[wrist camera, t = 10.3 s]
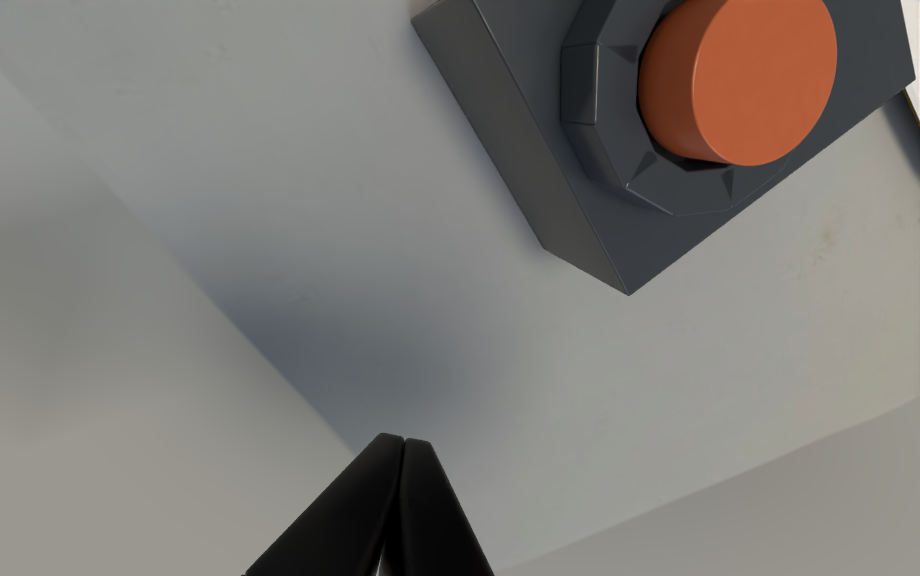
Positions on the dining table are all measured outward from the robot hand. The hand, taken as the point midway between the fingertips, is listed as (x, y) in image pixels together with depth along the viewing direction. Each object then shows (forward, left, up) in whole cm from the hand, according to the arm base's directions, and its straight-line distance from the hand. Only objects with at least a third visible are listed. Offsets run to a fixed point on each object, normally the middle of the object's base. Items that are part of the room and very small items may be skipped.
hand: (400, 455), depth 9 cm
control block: (+13, 0, -13) cm, 18 cm away
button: (+11, 0, -5) cm, 12 cm away
